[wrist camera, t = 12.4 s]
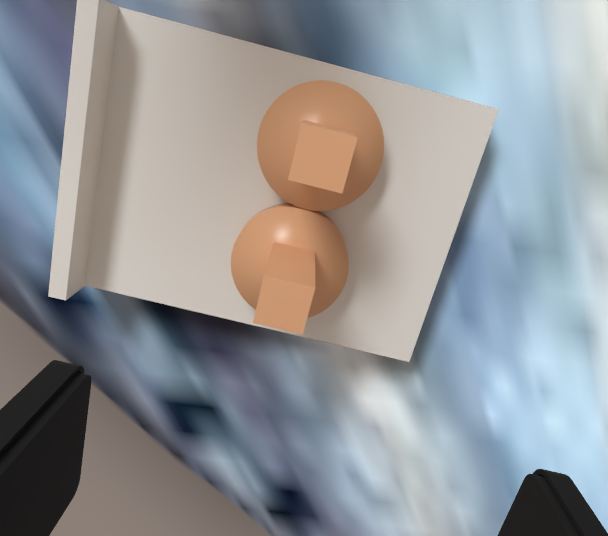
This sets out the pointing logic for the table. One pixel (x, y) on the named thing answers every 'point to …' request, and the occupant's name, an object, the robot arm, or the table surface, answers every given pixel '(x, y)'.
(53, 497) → the robot arm
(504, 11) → the table surface
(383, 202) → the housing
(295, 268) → the dome with square post
